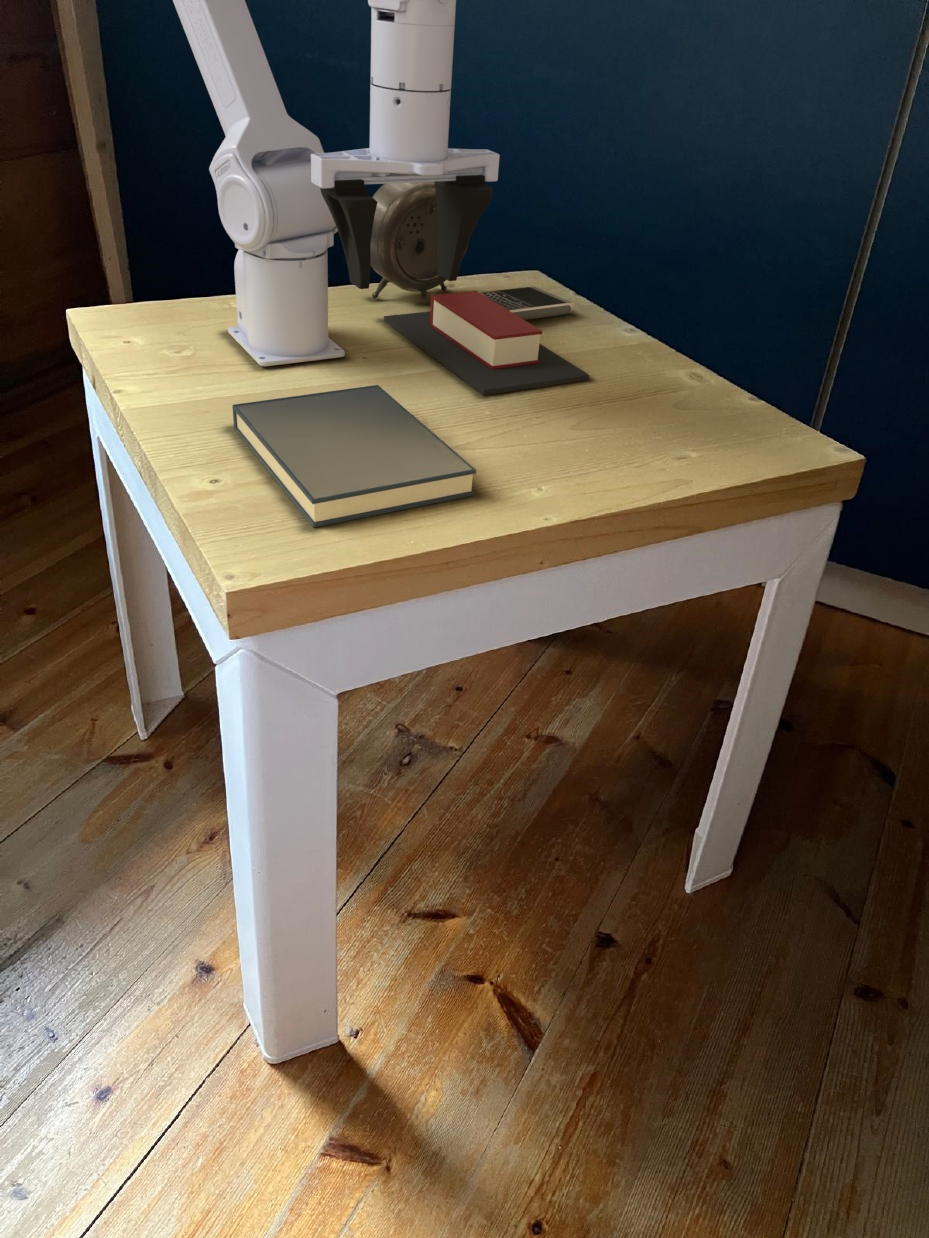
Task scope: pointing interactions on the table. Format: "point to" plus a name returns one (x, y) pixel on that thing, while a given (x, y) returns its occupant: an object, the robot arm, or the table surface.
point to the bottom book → (351, 454)
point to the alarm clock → (406, 237)
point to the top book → (485, 329)
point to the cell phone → (530, 302)
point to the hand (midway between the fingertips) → (404, 281)
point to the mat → (477, 373)
